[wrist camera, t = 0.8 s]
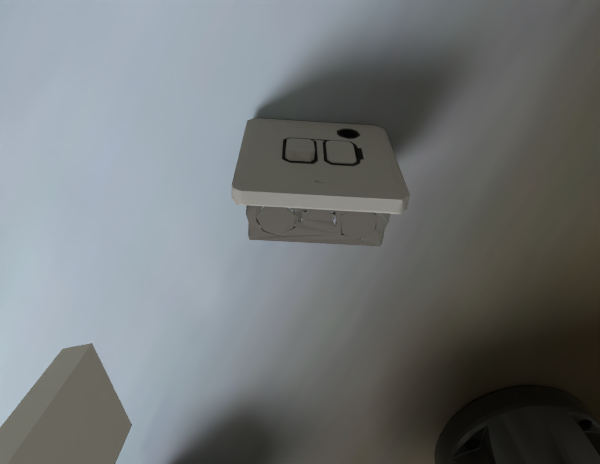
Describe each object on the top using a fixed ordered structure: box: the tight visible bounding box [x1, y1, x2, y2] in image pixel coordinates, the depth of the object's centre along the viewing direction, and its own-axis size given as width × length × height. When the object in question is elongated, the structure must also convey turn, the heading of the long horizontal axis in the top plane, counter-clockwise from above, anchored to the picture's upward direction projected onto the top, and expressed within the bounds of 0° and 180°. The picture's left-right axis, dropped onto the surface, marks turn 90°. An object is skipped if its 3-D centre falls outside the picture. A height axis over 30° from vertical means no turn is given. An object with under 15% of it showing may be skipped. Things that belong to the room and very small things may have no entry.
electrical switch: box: [232, 118, 410, 246], centre depth 26 cm, size 9×5×9 cm, turn 86°
